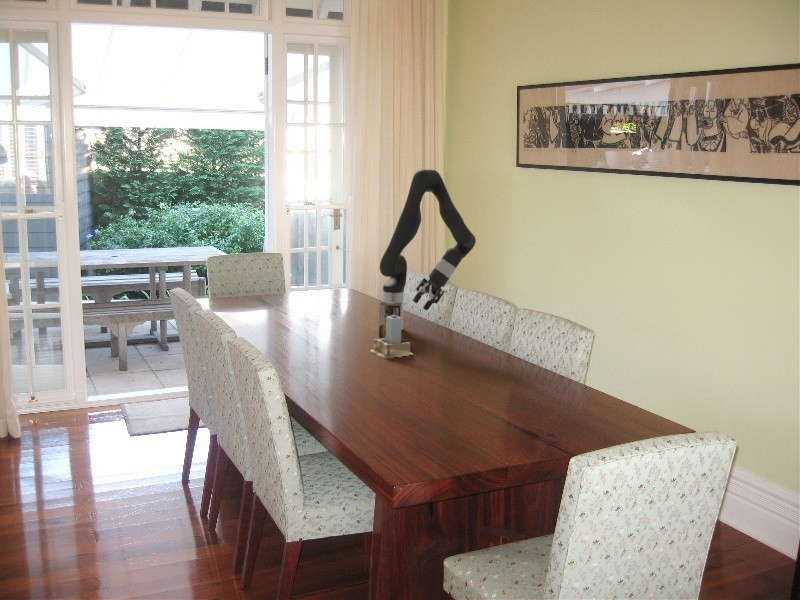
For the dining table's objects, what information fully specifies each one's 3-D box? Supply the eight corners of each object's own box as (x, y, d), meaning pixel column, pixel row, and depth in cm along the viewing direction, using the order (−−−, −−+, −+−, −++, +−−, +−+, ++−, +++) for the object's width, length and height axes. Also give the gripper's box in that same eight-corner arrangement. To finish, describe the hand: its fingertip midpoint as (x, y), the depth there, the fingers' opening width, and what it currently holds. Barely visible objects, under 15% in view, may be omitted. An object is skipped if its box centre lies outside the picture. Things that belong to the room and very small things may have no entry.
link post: (385, 350, 351) (386, 315, 348) (395, 349, 353) (396, 314, 350) (390, 353, 347) (391, 317, 345) (400, 352, 349) (401, 316, 347)
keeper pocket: (370, 351, 352) (370, 339, 351) (398, 348, 358) (399, 336, 357) (383, 359, 342) (384, 345, 341) (413, 355, 348) (413, 342, 347)
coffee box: (401, 339, 374) (402, 302, 371) (399, 343, 368) (401, 305, 364) (380, 338, 375) (381, 301, 372) (378, 342, 368) (379, 304, 365)
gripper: (427, 262, 360) (405, 295, 360) (445, 273, 348) (422, 307, 349) (439, 271, 364) (417, 304, 365) (457, 282, 353) (434, 316, 353)
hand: (419, 305), depth 357 cm, fingers open, 8 cm apart
